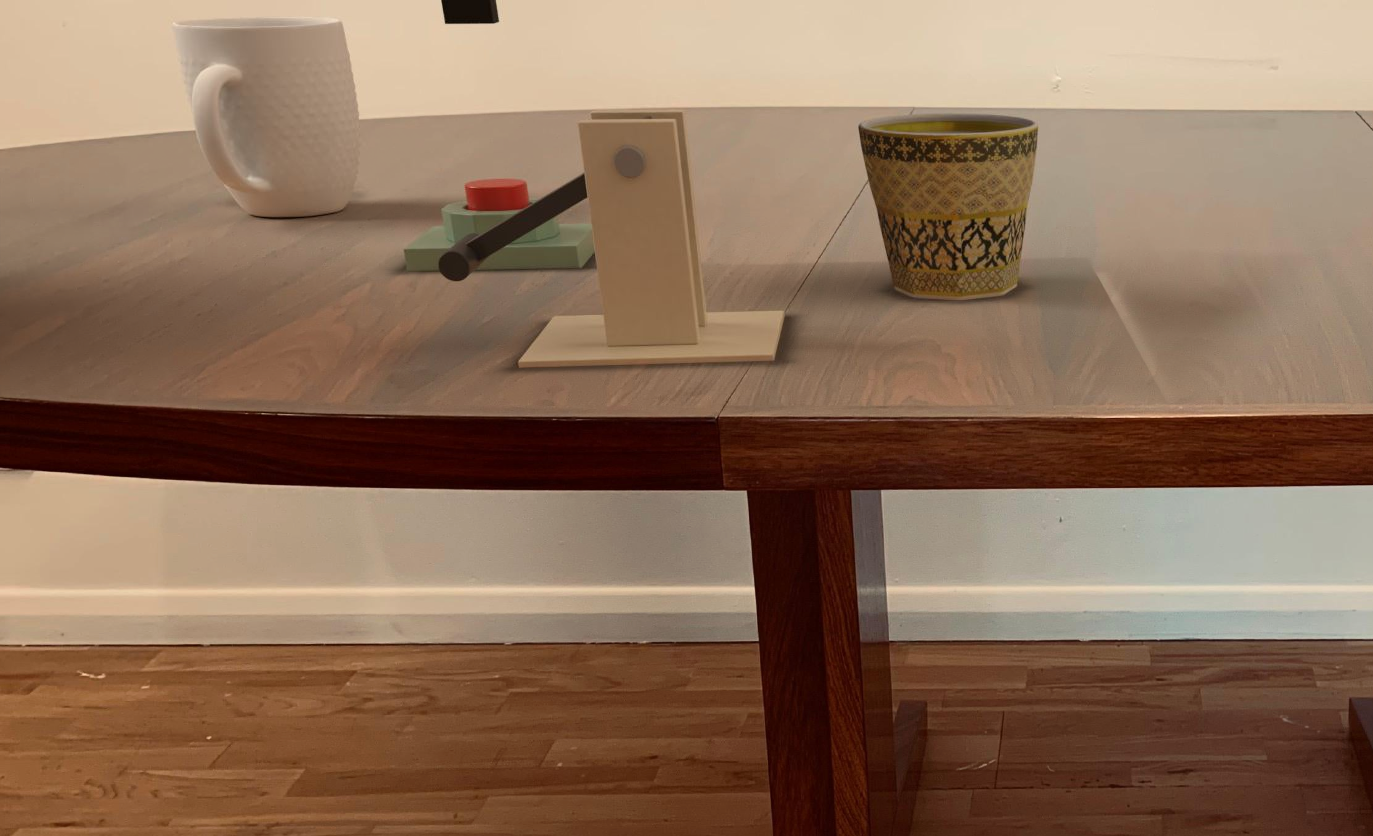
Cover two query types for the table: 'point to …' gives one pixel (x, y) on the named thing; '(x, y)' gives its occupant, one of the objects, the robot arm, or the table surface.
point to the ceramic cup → (951, 199)
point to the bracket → (647, 258)
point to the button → (497, 195)
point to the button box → (530, 251)
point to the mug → (274, 110)
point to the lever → (509, 230)
